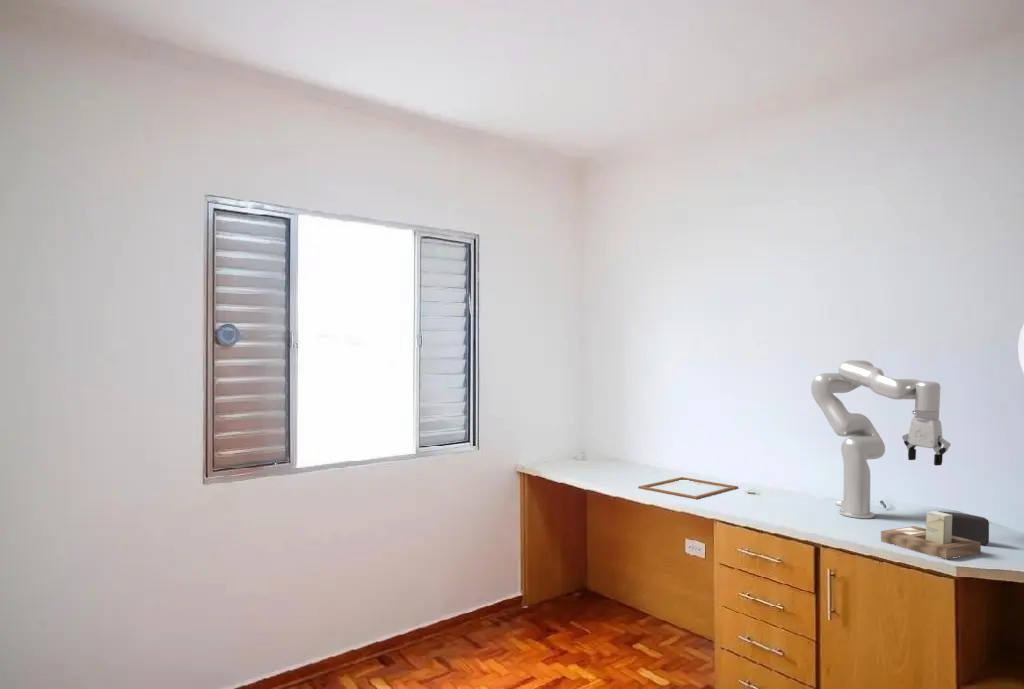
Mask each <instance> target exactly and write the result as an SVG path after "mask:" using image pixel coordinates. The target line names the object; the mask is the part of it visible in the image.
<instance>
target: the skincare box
mask: <svg viewBox="0 0 1024 689" xmlns="http://www.w3.org/2000/svg"><path fill="white" fill-rule="evenodd" d="M942 512H943V511H942ZM942 512H938V511H937V510H928V511H926V518H925V520H926V521H925V522H926V523H925V529H926V540H929V541H932V542H936V543H940V544H944V545H946V544H951V538H952V515H950V514H946V513H942Z"/></svg>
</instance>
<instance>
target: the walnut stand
mask: <svg viewBox="0 0 1024 689" xmlns="http://www.w3.org/2000/svg"><path fill="white" fill-rule="evenodd" d="M882 541H883V543H885V542H886V544H889V543H890V545H892V544H894V545H893V546H896V545H898V546H897V547H899V546H901V547H900V548H903V547H904V549H906V548H908V549H907V550H910V549H911V550H910V551H913V550H915V551H914V552H917V551H919V552H918V553H920V552H923V553H922V554H924V553H926V554H925V555H927V554H930V555H929V556H931V555H934V556H938V557H941V558H945V559H948V560H950V559H949V558H953V557H958V558H962V557H961V556H964V557H967V556H966V555H969V556H973V554H974V555H978V553H979V554H981V549H982V548H981V546H982V545H981V543H980V542H976V541H972V540H968V539H964V538H960V537H956V536H952V538H951V544H946V545H944V544H940V543H936V542H932V541H929V540H926V528H925V527H924V528H923V527H920V526H916V525H913V526H907V527H906V526H904V527H899V528H893V529H887V530H881V531H880V542H882ZM934 556H933V557H934ZM959 556H960V557H959ZM938 557H937V558H938ZM941 558H940V559H941ZM945 559H944V560H945ZM953 559H954V558H953Z"/></svg>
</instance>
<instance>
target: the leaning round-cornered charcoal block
mask: <svg viewBox="0 0 1024 689" xmlns="http://www.w3.org/2000/svg"><path fill="white" fill-rule="evenodd" d="M938 512H942V513H946V514H950V515H952V536H956V537H960V538H964V539H968V540H972V541H976V542H980V543H981V546H987V545H989V543H990V521H989V519H987V518H986V517H983V516H978V515H974V514H968V513H961V512H954V511H953V512H952V511H940V510H939V511H938Z"/></svg>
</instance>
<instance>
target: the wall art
mask: <svg viewBox="0 0 1024 689" xmlns="http://www.w3.org/2000/svg"><path fill="white" fill-rule="evenodd" d="M679 480H689V482H688V483H692V484H697V485H704V486H709V487H715V488H717V489H714V490H710V491H706V492H703V493H697V494H694V495H691V494H687V493H680V492H676V491H670V490H664V489H659V488H662V487H667V486H671V485H675V484H676V485H677V484H680V483H681V484H682V482H680V481H679ZM675 481H676V482H675ZM677 481H679V482H677ZM690 481H693V482H690ZM637 489H640V490H641V489H642V490H644V491H650V492H655V493H661V494H667V495H670V496H675V497H676V496H677V497H681V498H687V499H691V500H692V499H693V500H700V499H704V498H707V497H711V496H715V495H719V494H724V493H726V492H730V491H734V490H737V489H739V486H738V485H732V484H726V483H722V482H721V483H720V482H713V481H709V480H708V481H707V480H702V479H696V478H695V479H694V478H689V477H685V476H684V477H683V476H681V477H680V476H679V477H674V478H671V479H667V480H662V481H657V482H652V483H648V484H643V485H639V486H638V488H637Z"/></svg>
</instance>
